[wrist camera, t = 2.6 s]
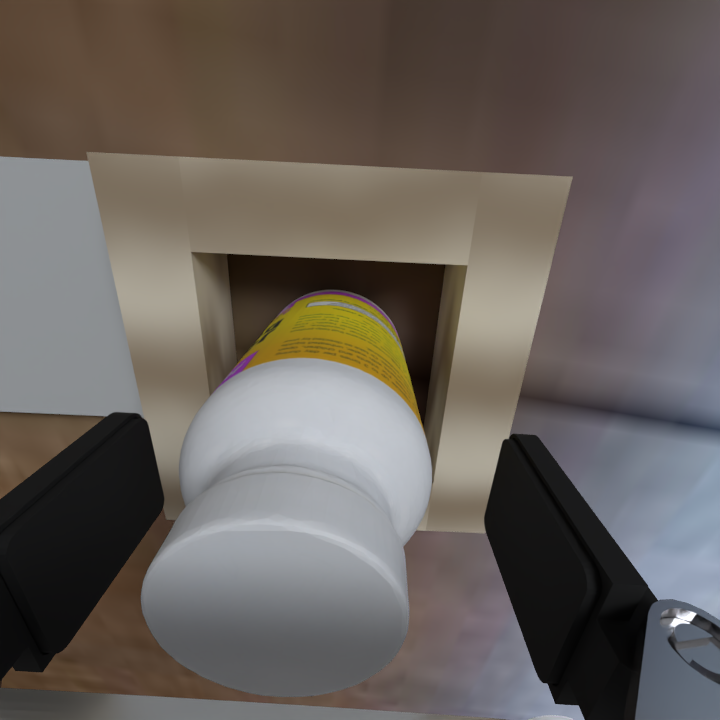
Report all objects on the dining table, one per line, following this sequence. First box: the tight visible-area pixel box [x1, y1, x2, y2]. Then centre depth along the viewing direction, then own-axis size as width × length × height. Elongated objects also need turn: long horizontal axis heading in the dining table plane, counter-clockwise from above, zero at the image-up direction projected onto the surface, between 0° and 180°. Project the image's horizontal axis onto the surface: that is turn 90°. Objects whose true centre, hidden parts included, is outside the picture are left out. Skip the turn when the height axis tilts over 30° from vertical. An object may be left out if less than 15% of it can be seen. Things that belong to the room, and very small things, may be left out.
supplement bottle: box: [141, 290, 432, 697], centre depth 12 cm, size 7×7×13 cm
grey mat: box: [0, 157, 144, 418], centre depth 17 cm, size 12×12×1 cm
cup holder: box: [86, 152, 573, 533], centre depth 16 cm, size 16×16×4 cm
